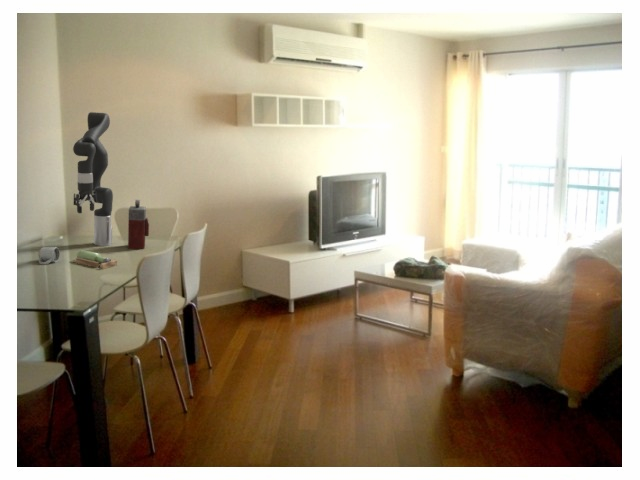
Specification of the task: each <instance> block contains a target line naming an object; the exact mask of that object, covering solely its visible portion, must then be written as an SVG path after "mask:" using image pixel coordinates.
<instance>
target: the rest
mask: <svg viewBox="0 0 640 480" xmlns="http://www.w3.org/2000/svg"><path fill="white" fill-rule="evenodd" d="M109 259H110V262H106V263H99V262H95V261H90V260H86V259H82V258H77V257H76V258H75V264H78V263H79V265H83V266H87V265H88V266H87V267H91V266H94V267H93V268H95V267H98V268H99V267H100V268H101V269H100V268H99V269H100V270H105V268H106V269H110V268H113V267H115V266H116V267H117V266H118V260H116V259H114V260H112V259H111V258H109Z"/></svg>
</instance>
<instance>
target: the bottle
mask: <svg viewBox="0 0 640 480" xmlns="http://www.w3.org/2000/svg"><path fill="white" fill-rule="evenodd" d="M76 258H82V259H86V260H90V261H95V262H99V264H102V263H106V262H110V259H111V258H109V257H104V256H102V255H101V254H100V253H97V252H93V251H90V250H89V251H88V250H84V249H80V250H78V252H77V255H76Z"/></svg>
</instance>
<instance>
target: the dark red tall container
mask: <svg viewBox="0 0 640 480" xmlns="http://www.w3.org/2000/svg"><path fill="white" fill-rule="evenodd" d="M140 201H141V200H140V199H135V203H134V205H130V206H129V208H128V229H127V230H128V231H127V232H128V233H127V234H128V236H127V239H128V240H127V242H128V243H127V245H128V246H127V249H131V250H144V249H145V248H146V237H149V236H150V220H149V218H148V217H147V208H146V206H140V204H141V203H140Z"/></svg>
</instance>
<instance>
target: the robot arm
mask: <svg viewBox="0 0 640 480" xmlns="http://www.w3.org/2000/svg"><path fill="white" fill-rule="evenodd" d="M110 124H111V120H110V116H109V114H108V113H106V112H93V111H91V112H89V113H88V115H87V128H88V130H86V132H85V133H84V135H83V136H82V137H81V138H80V139H78V140H77V141H75V143H74V144H73V148H72V151H73V154H74V155H75V156H77V157H86V159H85V160H79V161H78V162H77V175H76V176H77V183H76V184H77V190H78V193H73V206H76V211H77V213H78V214H82V213H83V209H82V208H83V207H82V206H83V203H85V202H87V201H88V202H89V211H91V212H93V211H94V212H93V222H94V223H93V244H94V245H95V246H97V247H98V246H99V247H101V246H102V247H105V246H111V245H112V244H113V228H112V211H113V202H114V200H113V199H114V193H113V190H112V189H111V188H110V187H109V188H108V187H104V186H103V187H102V186H101V180H102V177H103V175H104V173H105V172H106V171H107V168H108V165H109V155H108V151H107V149H106V148H105V146H104V145H103V144H102V142H101V140H100V137H101V136H102V135H103V134H104V133H106V132H107V131H108V129H109V127H110ZM95 203H96V204H101V207H100V208H97V209H95ZM111 243H112V244H111Z"/></svg>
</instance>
